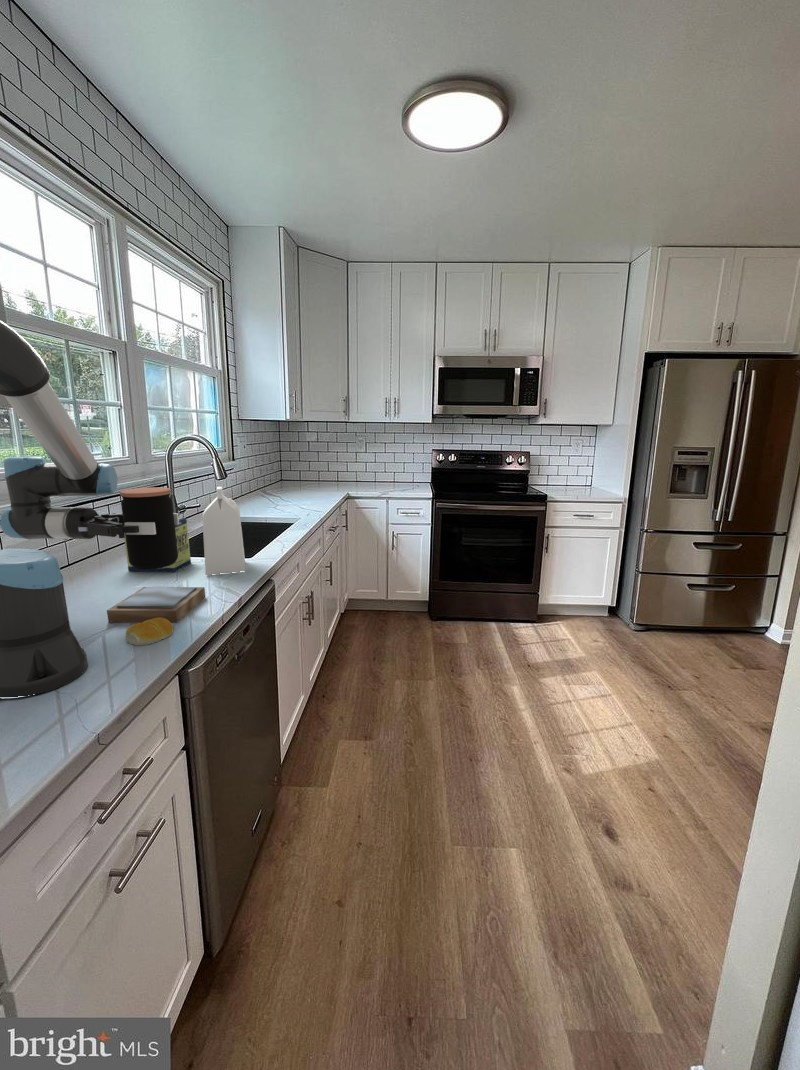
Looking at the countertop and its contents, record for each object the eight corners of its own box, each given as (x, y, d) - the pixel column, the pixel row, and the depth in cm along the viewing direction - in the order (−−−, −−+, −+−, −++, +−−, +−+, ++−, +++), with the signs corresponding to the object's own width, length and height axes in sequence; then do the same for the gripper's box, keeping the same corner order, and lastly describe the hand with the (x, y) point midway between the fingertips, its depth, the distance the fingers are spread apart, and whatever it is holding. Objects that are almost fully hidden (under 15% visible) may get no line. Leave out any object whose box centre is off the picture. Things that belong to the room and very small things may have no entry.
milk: (208, 565, 153) (200, 486, 147) (245, 562, 156) (239, 484, 150) (205, 576, 142) (197, 491, 136) (245, 572, 145) (238, 489, 139)
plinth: (177, 622, 108) (175, 608, 107) (108, 622, 108) (106, 608, 107) (205, 597, 124) (204, 585, 123) (145, 597, 124) (143, 585, 123)
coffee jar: (187, 558, 118) (180, 487, 114) (162, 570, 108) (153, 493, 103) (147, 557, 119) (139, 486, 115) (119, 569, 109) (108, 492, 105)
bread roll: (181, 633, 103) (179, 616, 102) (143, 649, 96) (141, 631, 95) (157, 625, 107) (155, 609, 106) (118, 641, 99) (116, 623, 98)
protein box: (175, 572, 145) (169, 523, 141) (127, 571, 146) (120, 523, 142) (192, 563, 155) (187, 517, 151) (147, 562, 156) (141, 516, 153)
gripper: (106, 528, 123) (190, 528, 123) (40, 550, 101) (142, 551, 101) (102, 500, 121) (187, 500, 121) (34, 516, 99) (138, 517, 99)
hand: (167, 523), depth 111 cm, fingers closed on coffee jar, 11 cm apart
